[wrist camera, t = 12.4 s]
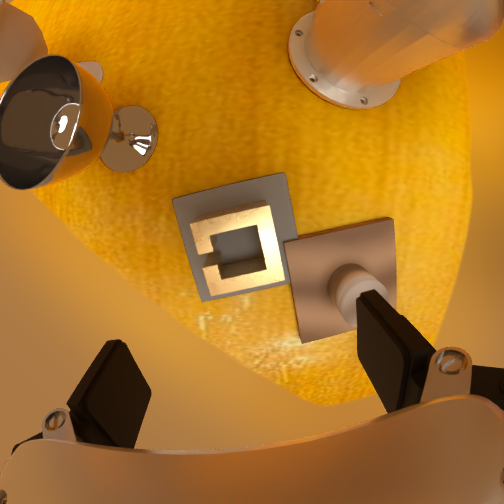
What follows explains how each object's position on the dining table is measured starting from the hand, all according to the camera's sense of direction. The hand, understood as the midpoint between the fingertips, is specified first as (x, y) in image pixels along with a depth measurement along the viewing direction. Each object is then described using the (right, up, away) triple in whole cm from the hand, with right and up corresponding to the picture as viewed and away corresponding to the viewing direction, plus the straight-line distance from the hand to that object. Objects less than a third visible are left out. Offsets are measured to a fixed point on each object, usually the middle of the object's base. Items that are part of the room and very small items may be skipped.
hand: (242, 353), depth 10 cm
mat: (-1, +5, +17) cm, 18 cm away
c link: (-1, +5, +17) cm, 18 cm away
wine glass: (-12, +15, +14) cm, 24 cm away
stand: (+11, +1, +19) cm, 22 cm away
